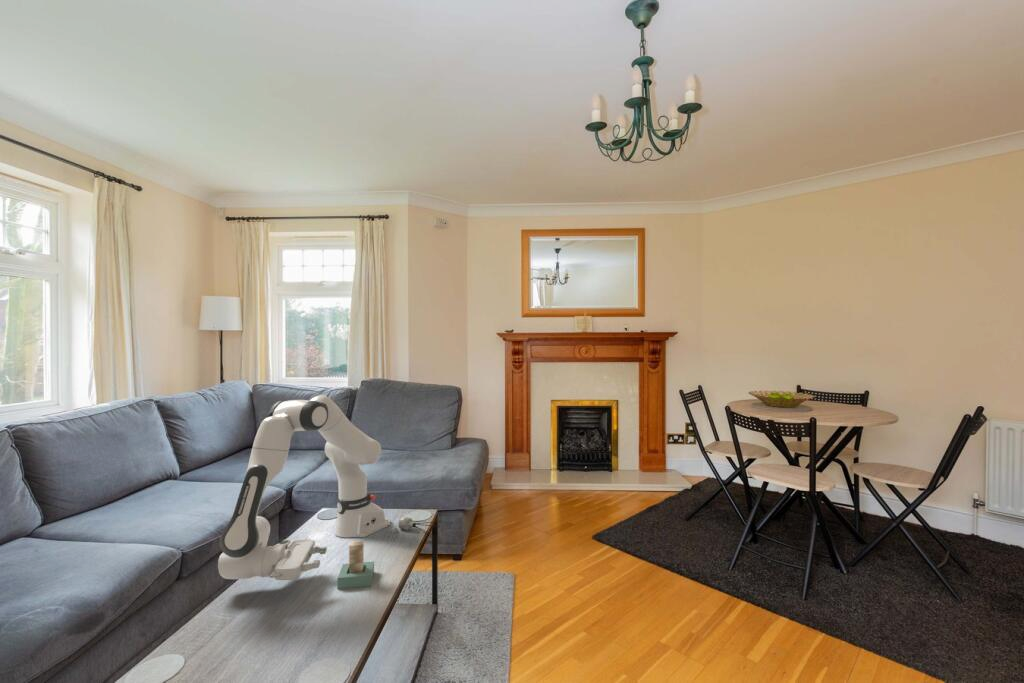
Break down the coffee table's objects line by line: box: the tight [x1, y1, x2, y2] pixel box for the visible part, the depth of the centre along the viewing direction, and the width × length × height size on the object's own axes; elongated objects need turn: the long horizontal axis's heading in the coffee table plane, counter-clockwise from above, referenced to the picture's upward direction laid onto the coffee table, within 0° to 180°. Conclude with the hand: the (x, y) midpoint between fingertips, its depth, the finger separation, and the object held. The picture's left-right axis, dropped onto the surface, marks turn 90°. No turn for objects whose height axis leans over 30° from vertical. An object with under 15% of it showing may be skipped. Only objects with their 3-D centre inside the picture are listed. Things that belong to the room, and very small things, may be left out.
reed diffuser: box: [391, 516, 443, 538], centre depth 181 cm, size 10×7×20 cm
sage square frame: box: [337, 561, 375, 590], centre depth 145 cm, size 10×9×4 cm
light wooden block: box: [348, 540, 365, 574], centre depth 146 cm, size 4×3×12 cm
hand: (323, 556), depth 144 cm, fingers open, 8 cm apart
